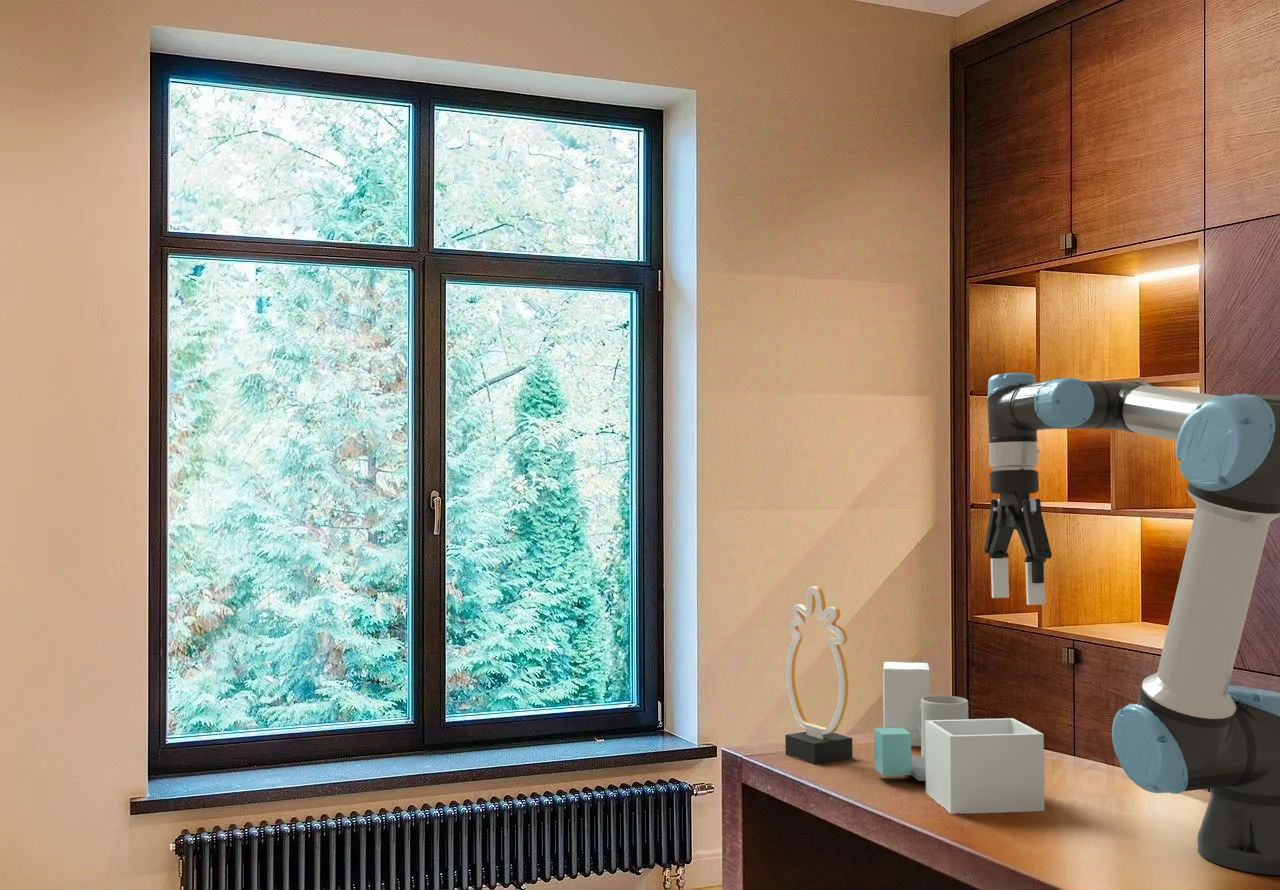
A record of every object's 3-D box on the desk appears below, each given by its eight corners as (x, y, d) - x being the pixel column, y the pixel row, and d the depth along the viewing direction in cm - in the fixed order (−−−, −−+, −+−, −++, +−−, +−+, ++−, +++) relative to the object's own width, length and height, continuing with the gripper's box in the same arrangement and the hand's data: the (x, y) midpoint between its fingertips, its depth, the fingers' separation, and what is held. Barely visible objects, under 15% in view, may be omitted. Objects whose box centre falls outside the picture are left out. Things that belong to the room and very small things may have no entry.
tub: (1044, 811, 190) (1043, 734, 190) (950, 814, 188) (950, 736, 189) (1013, 790, 202) (1013, 718, 202) (925, 793, 200) (925, 720, 201)
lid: (1009, 786, 204) (1008, 736, 205) (889, 790, 203) (889, 739, 203) (981, 768, 217) (980, 720, 217) (868, 771, 215) (868, 723, 215)
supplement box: (931, 748, 233) (930, 669, 233) (883, 746, 234) (882, 668, 235) (929, 737, 242) (929, 662, 242) (883, 735, 243) (883, 660, 244)
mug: (978, 762, 221) (978, 701, 222) (940, 766, 218) (939, 705, 218) (938, 748, 232) (937, 690, 233) (900, 752, 229) (900, 694, 229)
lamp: (867, 762, 221) (865, 588, 222) (828, 769, 217) (827, 591, 217) (809, 744, 236) (808, 581, 236) (772, 750, 231) (771, 583, 232)
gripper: (1071, 466, 185) (1076, 606, 184) (1004, 470, 209) (1008, 594, 208) (1024, 467, 184) (1028, 608, 183) (962, 471, 209) (965, 595, 208)
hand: (1017, 601), depth 196 cm, fingers open, 13 cm apart
